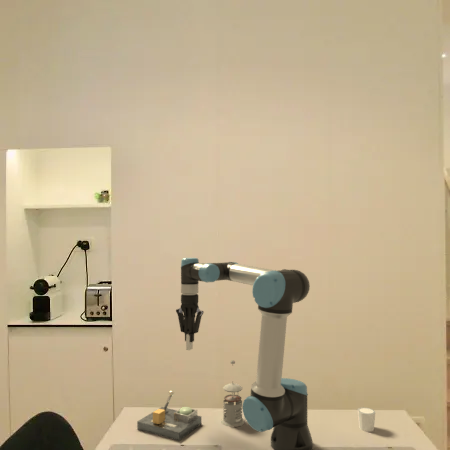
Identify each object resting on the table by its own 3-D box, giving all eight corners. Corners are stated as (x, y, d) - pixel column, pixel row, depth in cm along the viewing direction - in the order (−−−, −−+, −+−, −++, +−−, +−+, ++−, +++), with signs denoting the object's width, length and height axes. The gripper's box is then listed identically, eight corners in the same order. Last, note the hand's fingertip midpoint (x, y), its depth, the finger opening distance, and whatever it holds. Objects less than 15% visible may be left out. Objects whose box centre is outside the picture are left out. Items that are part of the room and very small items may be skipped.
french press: (218, 425, 163) (218, 362, 164) (225, 413, 174) (225, 355, 175) (242, 428, 160) (242, 364, 161) (247, 415, 172) (247, 356, 173)
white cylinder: (355, 430, 159) (355, 412, 159) (359, 423, 165) (358, 405, 165) (374, 433, 156) (374, 415, 156) (376, 426, 162) (376, 409, 162)
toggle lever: (168, 411, 169) (176, 392, 167) (164, 413, 167) (172, 393, 165) (163, 407, 170) (171, 388, 168) (160, 409, 168) (168, 390, 166)
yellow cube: (165, 420, 160) (165, 410, 160) (158, 424, 156) (159, 413, 157) (159, 418, 161) (159, 408, 161) (152, 422, 158) (152, 412, 158)
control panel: (201, 423, 164) (201, 410, 164) (178, 440, 150) (179, 425, 150) (161, 413, 173) (162, 401, 174) (137, 429, 159) (137, 414, 160)
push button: (194, 415, 164) (194, 408, 164) (187, 420, 160) (187, 413, 160) (184, 413, 166) (184, 406, 167) (177, 418, 162) (177, 410, 162)
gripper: (207, 293, 173) (207, 349, 172) (182, 291, 179) (181, 345, 178) (197, 295, 166) (197, 353, 165) (172, 293, 172) (171, 349, 171)
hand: (189, 349), depth 172 cm, fingers closed
